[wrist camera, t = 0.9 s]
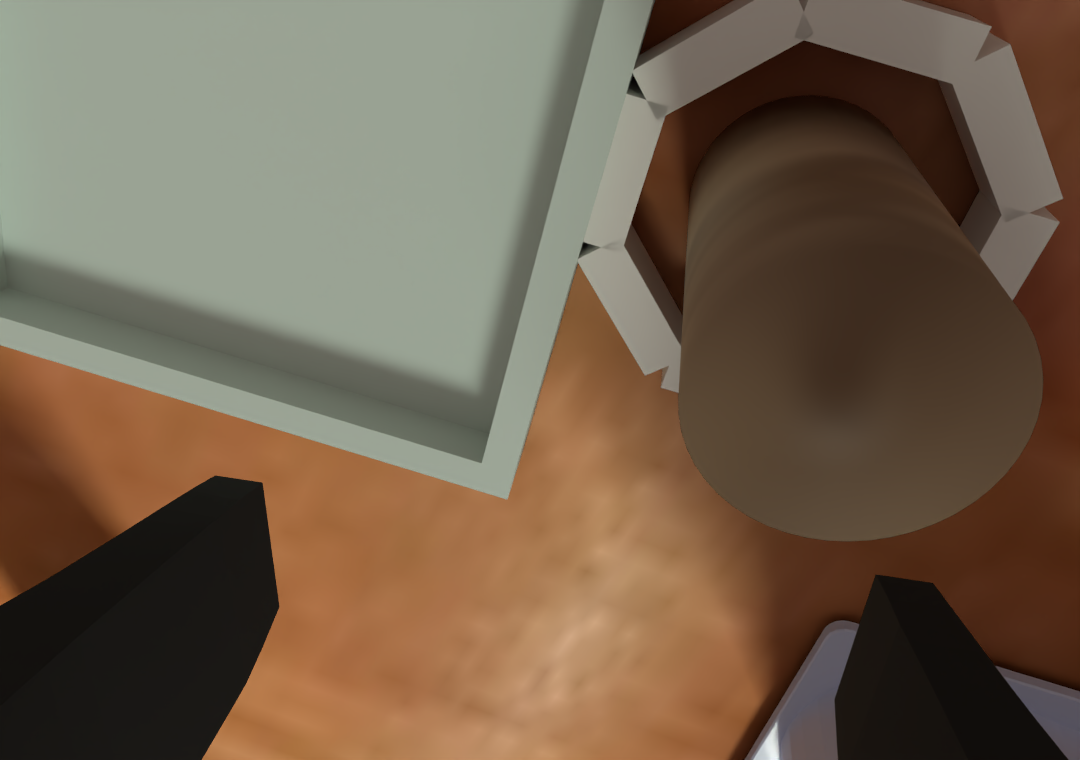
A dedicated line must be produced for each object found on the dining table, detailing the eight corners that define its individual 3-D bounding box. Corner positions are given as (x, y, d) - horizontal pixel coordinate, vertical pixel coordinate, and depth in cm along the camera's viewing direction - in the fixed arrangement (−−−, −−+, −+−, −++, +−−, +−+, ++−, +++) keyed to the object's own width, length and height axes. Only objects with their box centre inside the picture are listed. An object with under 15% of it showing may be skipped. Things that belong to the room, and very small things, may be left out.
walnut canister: (951, 131, 17) (1120, 307, 10) (854, 327, 19) (936, 577, 12) (732, 67, 17) (749, 197, 10) (661, 269, 19) (636, 486, 12)
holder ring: (1113, 56, 16) (1149, 73, 14) (901, 426, 20) (914, 464, 19) (665, -75, 16) (662, -70, 15) (552, 321, 20) (541, 351, 19)
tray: (709, -187, 15) (710, -194, 13) (522, 451, 22) (507, 499, 20) (-66, -410, 15) (-163, -446, 13) (1, 293, 22) (-57, 327, 21)
